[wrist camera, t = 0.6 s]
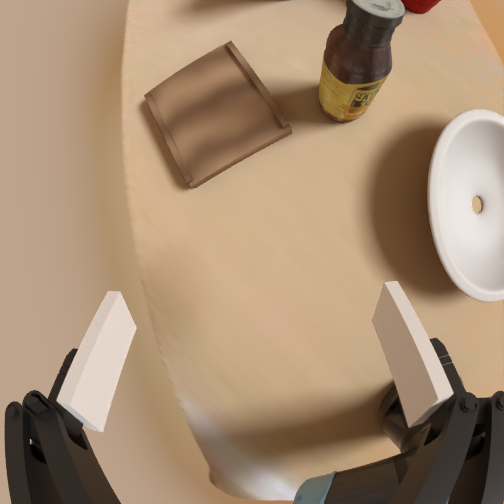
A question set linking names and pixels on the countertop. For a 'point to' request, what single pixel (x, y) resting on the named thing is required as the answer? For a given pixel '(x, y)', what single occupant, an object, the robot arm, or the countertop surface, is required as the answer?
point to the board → (215, 114)
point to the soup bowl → (470, 202)
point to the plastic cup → (419, 5)
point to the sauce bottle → (358, 57)
